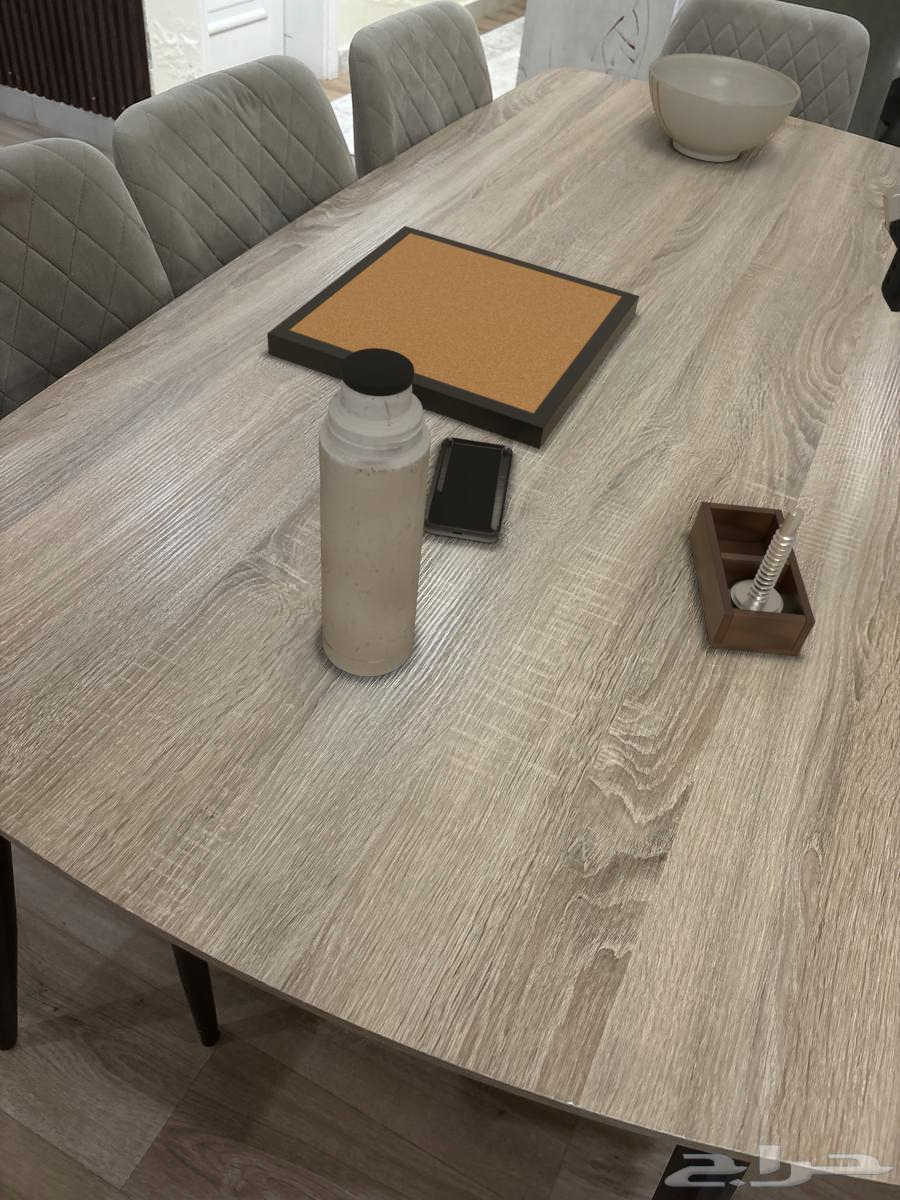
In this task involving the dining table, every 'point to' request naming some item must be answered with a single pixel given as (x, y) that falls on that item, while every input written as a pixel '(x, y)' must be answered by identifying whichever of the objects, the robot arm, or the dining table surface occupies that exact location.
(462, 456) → the phone
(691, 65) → the decorative bowl
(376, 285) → the cork board
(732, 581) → the organiser
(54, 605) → the dining table surface
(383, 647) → the thermos bottle
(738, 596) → the screw
